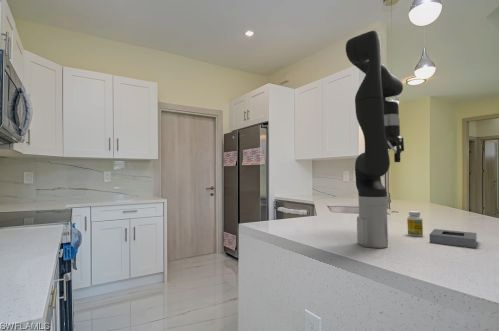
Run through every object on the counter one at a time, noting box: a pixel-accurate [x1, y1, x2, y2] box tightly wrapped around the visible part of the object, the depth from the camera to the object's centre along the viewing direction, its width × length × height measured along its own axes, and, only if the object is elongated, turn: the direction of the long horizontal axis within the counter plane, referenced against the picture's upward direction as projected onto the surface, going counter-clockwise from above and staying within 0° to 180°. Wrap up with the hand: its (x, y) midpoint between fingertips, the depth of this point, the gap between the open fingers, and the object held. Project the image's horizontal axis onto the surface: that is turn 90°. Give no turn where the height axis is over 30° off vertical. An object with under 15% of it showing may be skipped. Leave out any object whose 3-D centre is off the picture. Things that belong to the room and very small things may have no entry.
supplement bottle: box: [406, 210, 424, 237], centre depth 114 cm, size 5×5×10 cm
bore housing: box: [429, 228, 478, 249], centre depth 102 cm, size 13×13×3 cm
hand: (391, 162), depth 121 cm, fingers open, 8 cm apart
